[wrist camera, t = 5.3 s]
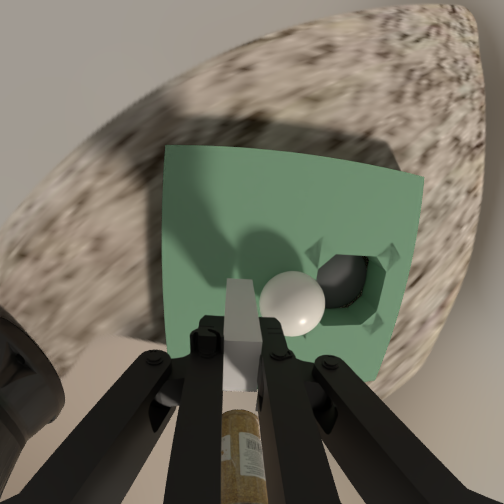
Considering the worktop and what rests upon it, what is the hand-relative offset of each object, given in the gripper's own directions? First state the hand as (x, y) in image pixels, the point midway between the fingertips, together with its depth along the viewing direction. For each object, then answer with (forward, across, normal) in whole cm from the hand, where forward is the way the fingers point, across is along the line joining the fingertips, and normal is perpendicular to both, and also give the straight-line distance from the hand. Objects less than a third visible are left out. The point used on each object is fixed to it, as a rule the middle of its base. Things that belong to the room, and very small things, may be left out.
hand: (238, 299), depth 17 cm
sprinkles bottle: (+5, -1, +17) cm, 18 cm away
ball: (0, -3, 0) cm, 3 cm away
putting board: (+5, -4, 0) cm, 6 cm away
